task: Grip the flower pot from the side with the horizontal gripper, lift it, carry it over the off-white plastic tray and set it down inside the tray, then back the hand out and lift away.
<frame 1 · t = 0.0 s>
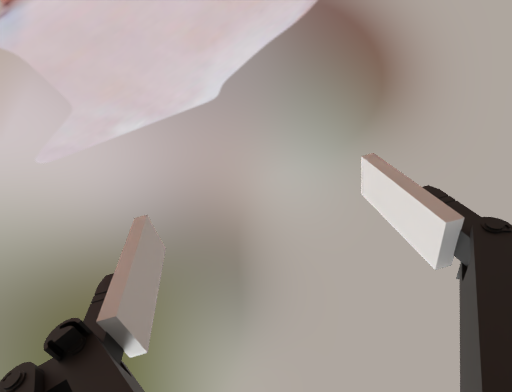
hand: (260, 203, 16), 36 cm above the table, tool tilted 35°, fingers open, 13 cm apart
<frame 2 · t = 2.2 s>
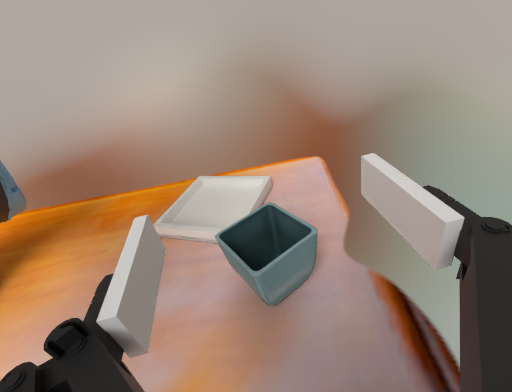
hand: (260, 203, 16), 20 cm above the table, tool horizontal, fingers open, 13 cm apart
tray: (218, 210, 52), on the table
flower pot: (276, 283, 35), on the table
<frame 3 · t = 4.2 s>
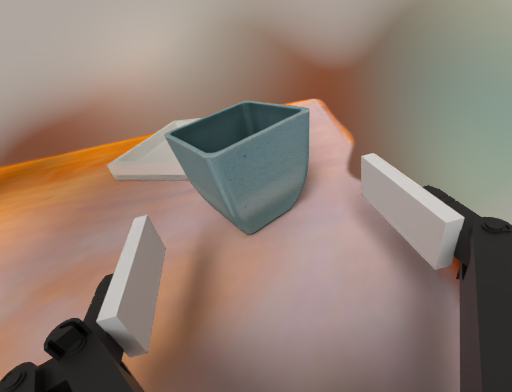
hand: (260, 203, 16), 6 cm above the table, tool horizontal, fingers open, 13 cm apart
tray: (192, 151, 42), on the table
flower pot: (255, 213, 26), on the table
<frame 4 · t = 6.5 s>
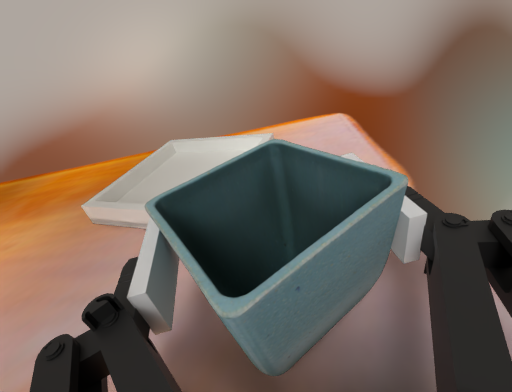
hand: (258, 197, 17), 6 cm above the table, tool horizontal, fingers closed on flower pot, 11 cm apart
tray: (192, 183, 33), on the table
flower pot: (288, 310, 17), on the table, touching gripper
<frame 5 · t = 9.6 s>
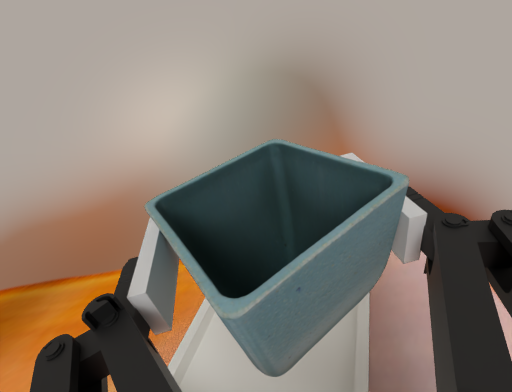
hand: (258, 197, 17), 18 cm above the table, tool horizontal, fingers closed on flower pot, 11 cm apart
tray: (274, 350, 26), on the table
flower pot: (289, 310, 17), point 11 cm above the table, touching gripper
when the fingers open (8 cm above the table, at t = 12.8 s): flower pot drops 2 cm, resting on tray.
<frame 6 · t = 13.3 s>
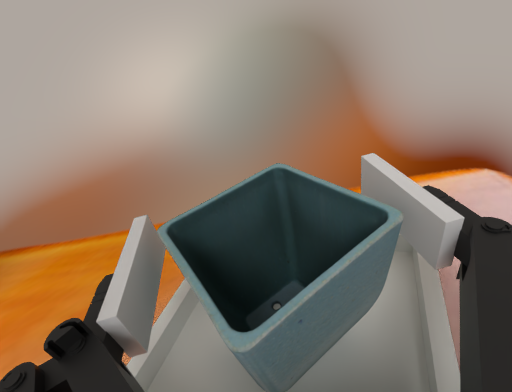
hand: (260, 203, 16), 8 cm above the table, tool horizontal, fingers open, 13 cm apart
tray: (293, 330, 18), on the table
flower pot: (291, 326, 18), point 1 cm above the table, touching tray
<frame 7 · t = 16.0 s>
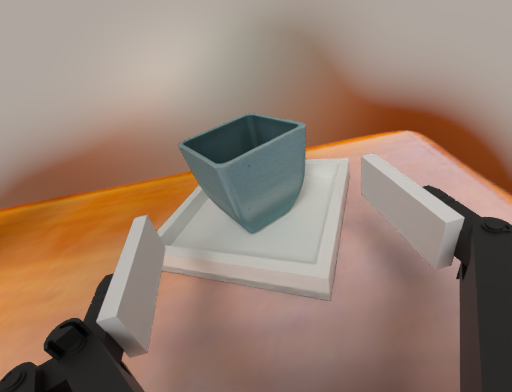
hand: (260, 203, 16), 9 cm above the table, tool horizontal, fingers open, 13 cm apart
tray: (260, 218, 29), on the table
flower pot: (258, 214, 29), point 1 cm above the table, touching tray
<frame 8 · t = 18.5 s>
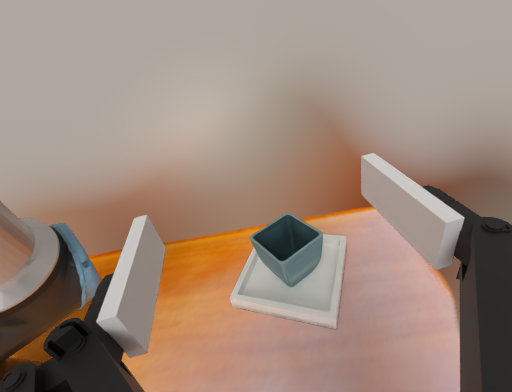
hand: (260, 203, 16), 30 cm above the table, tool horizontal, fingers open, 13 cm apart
tray: (293, 274, 48), on the table
flower pot: (292, 272, 48), point 1 cm above the table, touching tray
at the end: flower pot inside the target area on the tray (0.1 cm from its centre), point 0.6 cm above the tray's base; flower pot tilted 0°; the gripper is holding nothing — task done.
